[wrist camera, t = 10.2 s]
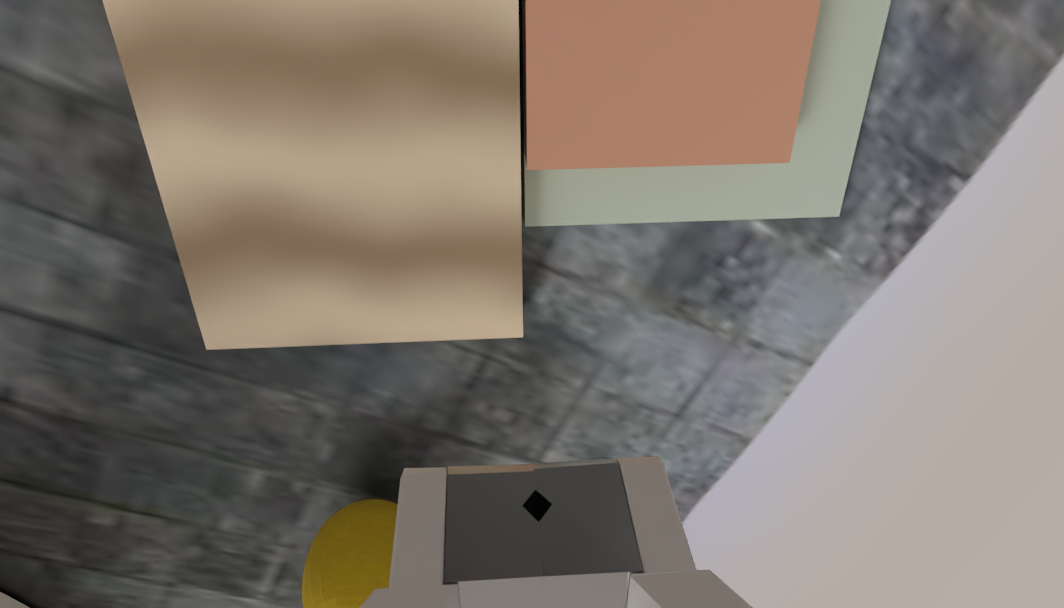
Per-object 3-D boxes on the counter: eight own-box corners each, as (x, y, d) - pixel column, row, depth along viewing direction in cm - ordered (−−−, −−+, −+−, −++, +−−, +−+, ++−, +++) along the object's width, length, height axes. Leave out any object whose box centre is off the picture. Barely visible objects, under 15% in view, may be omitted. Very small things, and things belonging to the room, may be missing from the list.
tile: (774, 146, 27) (789, 162, 26) (524, 153, 27) (527, 170, 25) (807, -35, 24) (826, -27, 23) (522, -31, 23) (525, -22, 22)
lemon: (326, 543, 38) (293, 700, 31) (314, 463, 35) (275, 618, 28) (437, 541, 38) (429, 696, 31) (435, 462, 35) (425, 614, 28)
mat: (834, 210, 29) (839, 216, 29) (524, 220, 29) (525, 226, 28) (938, -233, 22) (947, -234, 21) (519, -232, 21) (520, -233, 21)
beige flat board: (520, 308, 31) (523, 337, 29) (221, 320, 30) (206, 349, 28) (510, -325, 20) (513, -338, 18) (42, -326, 19) (1, -340, 18)
